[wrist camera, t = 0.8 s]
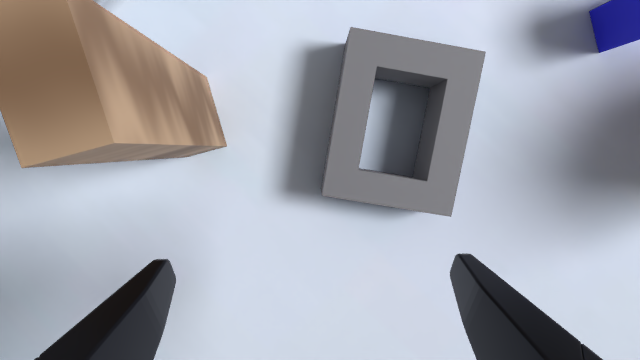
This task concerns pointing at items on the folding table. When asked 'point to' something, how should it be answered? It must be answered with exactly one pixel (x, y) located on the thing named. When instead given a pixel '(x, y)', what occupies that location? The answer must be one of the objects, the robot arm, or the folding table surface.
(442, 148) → the gray block with hole
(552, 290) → the folding table surface
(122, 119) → the slat
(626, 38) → the cable clip
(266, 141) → the folding table surface
